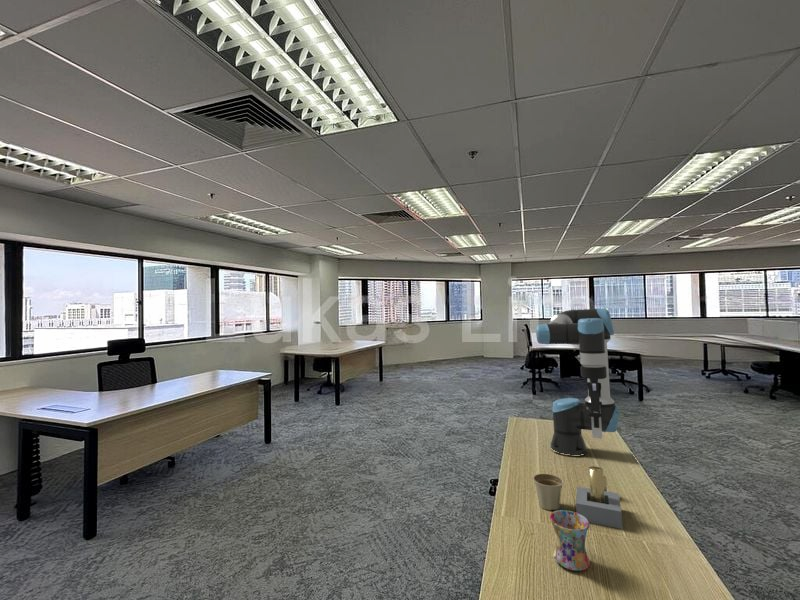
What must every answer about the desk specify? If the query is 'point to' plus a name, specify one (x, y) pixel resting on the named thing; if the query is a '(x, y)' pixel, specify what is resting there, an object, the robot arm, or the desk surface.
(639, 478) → the desk surface
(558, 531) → the mug
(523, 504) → the desk surface
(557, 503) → the flower pot
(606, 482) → the short pin
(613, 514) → the slate block
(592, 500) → the long pin
